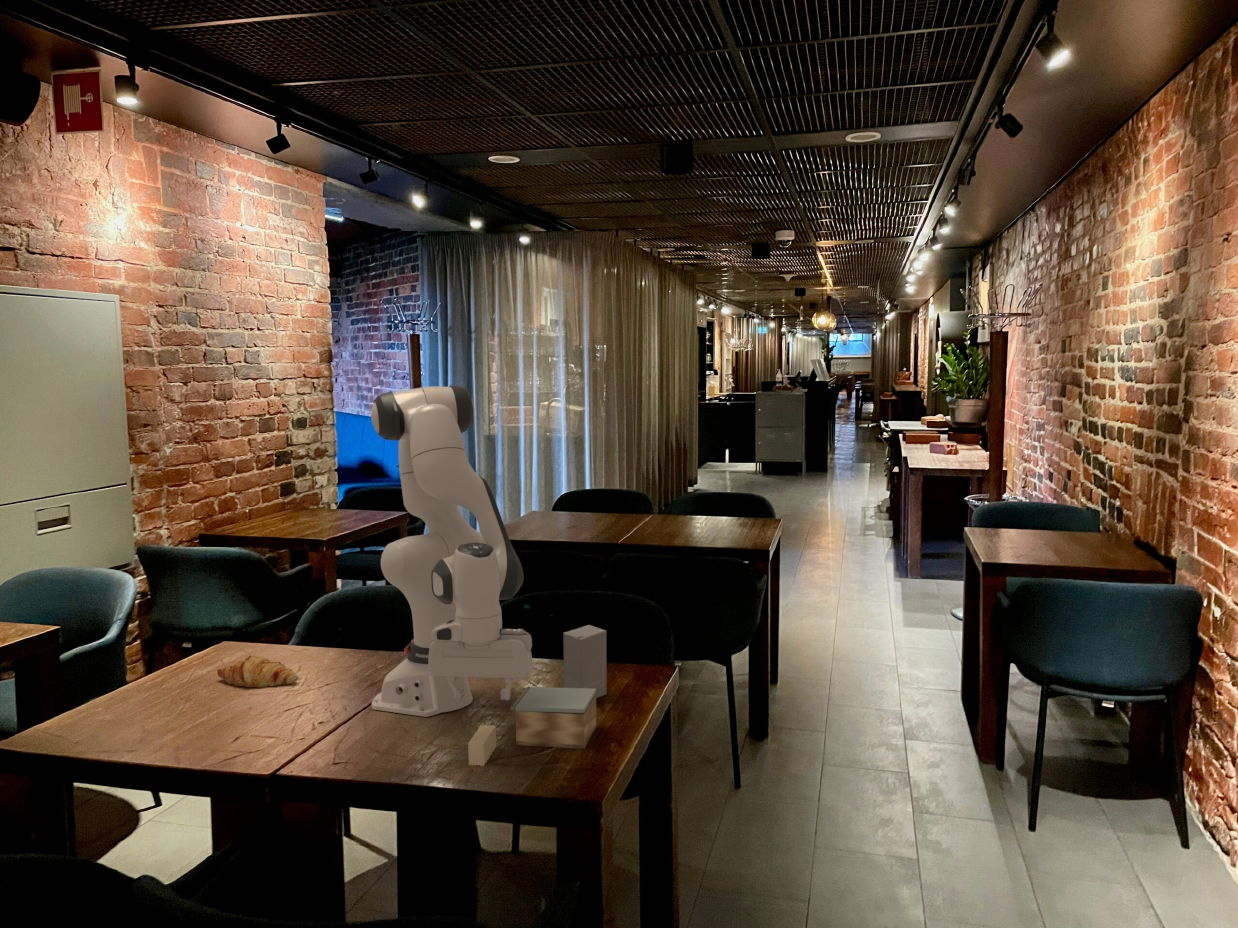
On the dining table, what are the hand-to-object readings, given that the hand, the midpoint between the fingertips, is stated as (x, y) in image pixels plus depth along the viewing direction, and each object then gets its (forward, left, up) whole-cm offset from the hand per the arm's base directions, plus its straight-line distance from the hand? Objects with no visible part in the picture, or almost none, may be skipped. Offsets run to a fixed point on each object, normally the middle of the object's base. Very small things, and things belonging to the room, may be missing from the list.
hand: (482, 698), depth 178 cm
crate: (+12, +12, -12) cm, 21 cm away
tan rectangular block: (0, 0, -12) cm, 12 cm away
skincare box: (+13, +35, -12) cm, 40 cm away
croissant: (-69, +34, -12) cm, 78 cm away
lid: (+11, +12, -5) cm, 17 cm away
